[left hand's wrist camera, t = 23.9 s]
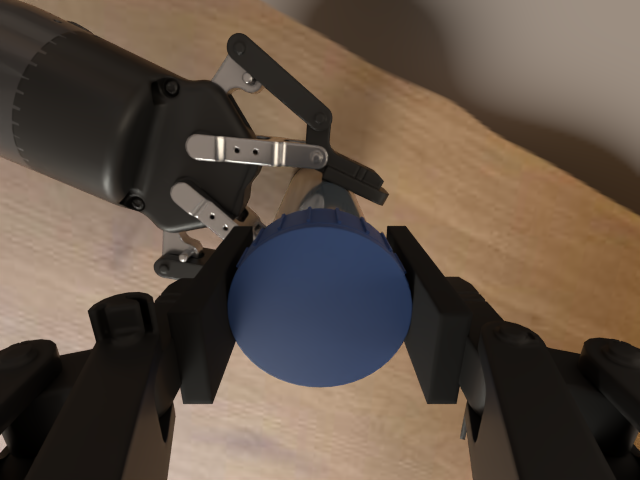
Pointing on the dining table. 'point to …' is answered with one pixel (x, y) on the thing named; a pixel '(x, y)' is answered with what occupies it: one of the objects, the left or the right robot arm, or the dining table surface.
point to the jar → (317, 195)
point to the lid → (319, 299)
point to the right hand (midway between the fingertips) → (360, 236)
